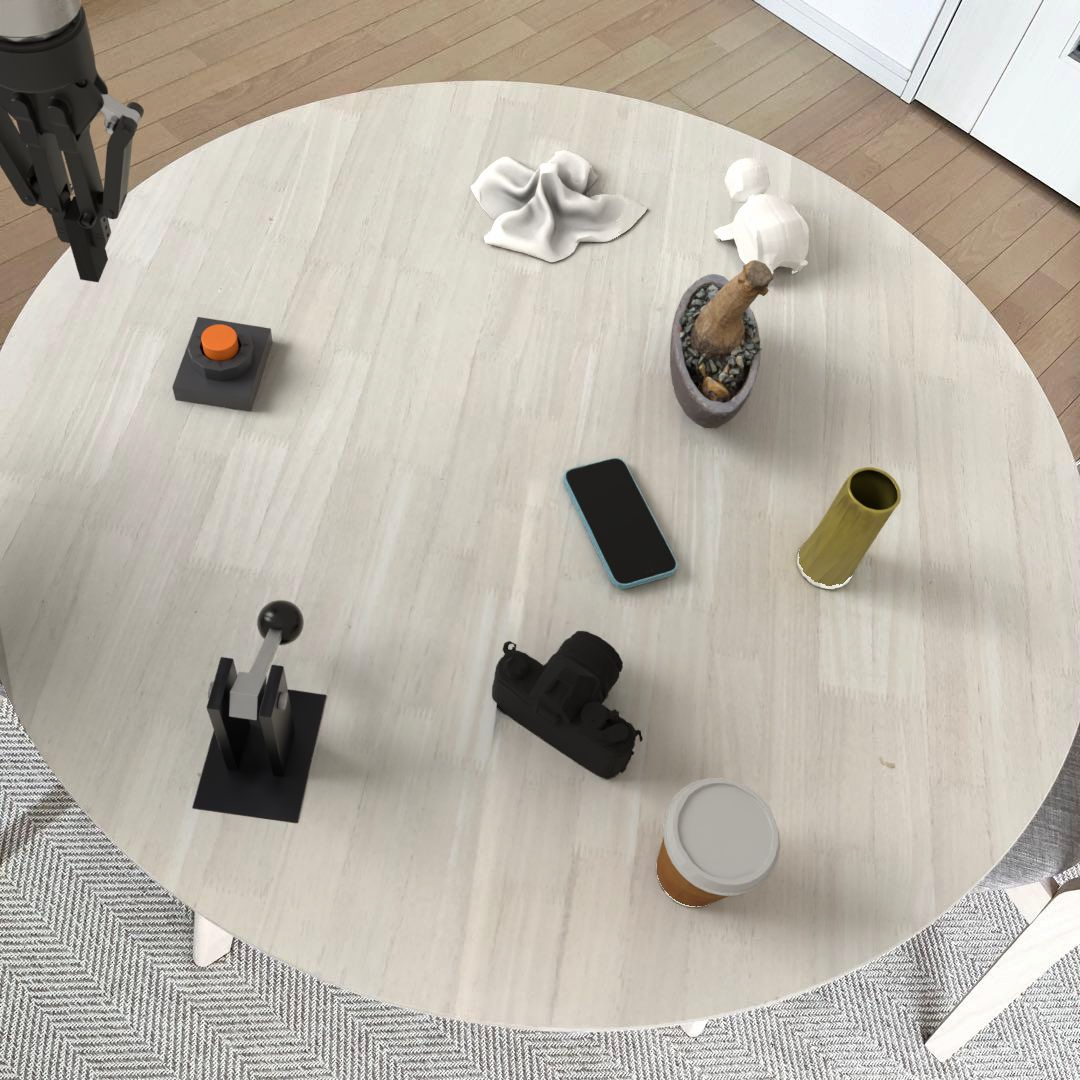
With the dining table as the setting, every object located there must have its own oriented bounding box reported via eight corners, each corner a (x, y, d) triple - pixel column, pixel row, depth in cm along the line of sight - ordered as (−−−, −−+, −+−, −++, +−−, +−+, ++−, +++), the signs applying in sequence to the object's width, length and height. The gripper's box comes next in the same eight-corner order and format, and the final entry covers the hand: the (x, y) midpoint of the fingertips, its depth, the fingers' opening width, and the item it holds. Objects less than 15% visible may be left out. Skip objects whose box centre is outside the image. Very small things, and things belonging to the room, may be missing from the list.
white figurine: (794, 281, 144) (751, 174, 145) (827, 252, 136) (782, 140, 137) (737, 297, 141) (694, 188, 143) (767, 269, 133) (722, 153, 135)
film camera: (664, 714, 107) (685, 674, 100) (609, 793, 103) (628, 758, 95) (533, 626, 111) (544, 581, 103) (474, 699, 106) (481, 658, 98)
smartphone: (622, 455, 122) (681, 569, 114) (620, 461, 122) (679, 574, 115) (560, 471, 119) (617, 588, 112) (559, 477, 120) (615, 593, 113)
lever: (262, 626, 102) (264, 588, 100) (306, 632, 102) (309, 595, 100) (217, 722, 89) (218, 681, 87) (267, 730, 89) (269, 689, 88)
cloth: (497, 273, 135) (501, 235, 129) (449, 169, 143) (451, 128, 138) (666, 242, 141) (677, 204, 135) (610, 144, 149) (619, 104, 144)
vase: (783, 560, 118) (829, 483, 106) (821, 530, 121) (870, 452, 109) (827, 601, 116) (879, 527, 104) (864, 569, 119) (919, 494, 107)
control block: (175, 400, 120) (169, 376, 116) (200, 330, 125) (195, 304, 121) (250, 412, 120) (247, 388, 116) (272, 341, 125) (269, 316, 122)
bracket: (229, 686, 104) (208, 610, 91) (326, 700, 104) (319, 627, 92) (193, 812, 97) (166, 750, 85) (298, 827, 98) (285, 767, 85)
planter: (697, 468, 123) (747, 346, 106) (603, 365, 129) (637, 234, 112) (794, 412, 129) (856, 288, 112) (701, 316, 135) (746, 185, 118)
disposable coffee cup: (631, 915, 97) (661, 878, 87) (643, 809, 102) (672, 762, 92) (740, 936, 97) (782, 902, 87) (746, 829, 102) (787, 784, 92)
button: (199, 358, 118) (197, 347, 117) (208, 332, 120) (206, 321, 119) (233, 363, 118) (231, 352, 117) (242, 338, 120) (240, 327, 119)
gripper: (139, -7, 77) (184, 250, 97) (-57, -42, 76) (29, 225, 96) (107, 61, 73) (161, 315, 93) (-101, 25, 72) (-2, 289, 92)
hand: (94, 269), depth 94 cm, fingers closed
